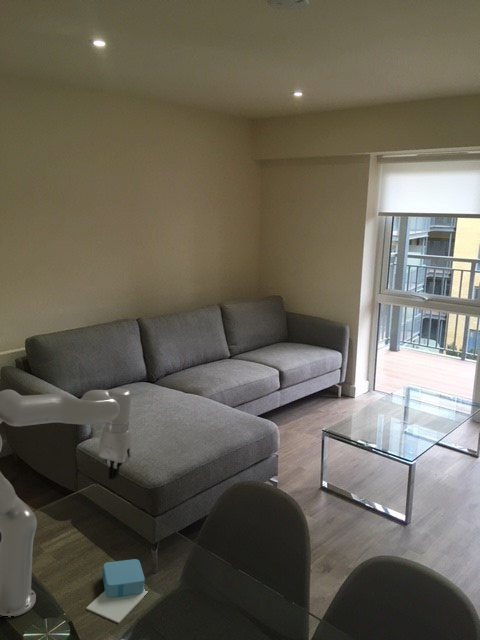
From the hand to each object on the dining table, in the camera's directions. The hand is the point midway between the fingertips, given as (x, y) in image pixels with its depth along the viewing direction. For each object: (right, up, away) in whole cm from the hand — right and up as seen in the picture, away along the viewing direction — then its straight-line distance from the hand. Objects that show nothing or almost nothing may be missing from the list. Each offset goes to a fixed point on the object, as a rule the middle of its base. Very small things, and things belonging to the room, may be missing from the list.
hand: (113, 477), depth 180 cm
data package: (-1, -31, -7) cm, 32 cm away
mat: (+5, -35, -11) cm, 37 cm away
